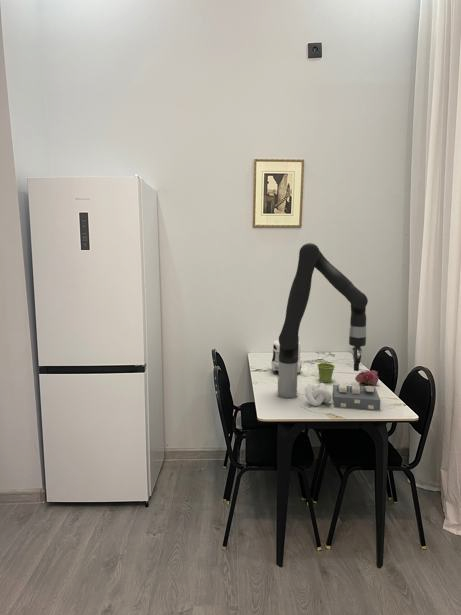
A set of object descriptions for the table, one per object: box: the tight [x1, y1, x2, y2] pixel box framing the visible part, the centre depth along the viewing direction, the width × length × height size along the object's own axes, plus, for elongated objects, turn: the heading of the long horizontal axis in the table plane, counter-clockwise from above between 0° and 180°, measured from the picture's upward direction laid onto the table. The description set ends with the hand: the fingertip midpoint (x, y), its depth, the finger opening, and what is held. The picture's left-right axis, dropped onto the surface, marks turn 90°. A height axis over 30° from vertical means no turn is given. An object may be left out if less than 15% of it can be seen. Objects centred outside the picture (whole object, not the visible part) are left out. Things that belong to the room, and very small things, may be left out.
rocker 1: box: [337, 381, 348, 393], centre depth 190 cm, size 3×7×2 cm, turn 168°
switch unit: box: [332, 384, 382, 411], centre depth 189 cm, size 20×16×7 cm
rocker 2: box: [350, 381, 360, 394], centre depth 189 cm, size 3×7×2 cm, turn 168°
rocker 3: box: [363, 385, 374, 392], centre depth 188 cm, size 3×7×2 cm, turn 168°
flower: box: [355, 369, 379, 386], centre depth 212 cm, size 11×10×10 cm
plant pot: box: [316, 362, 336, 384], centre depth 218 cm, size 9×9×9 cm
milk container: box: [270, 338, 302, 374], centre depth 232 cm, size 17×17×18 cm
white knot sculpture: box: [304, 382, 332, 407], centre depth 188 cm, size 11×12×9 cm
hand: (356, 370), depth 190 cm, fingers closed
